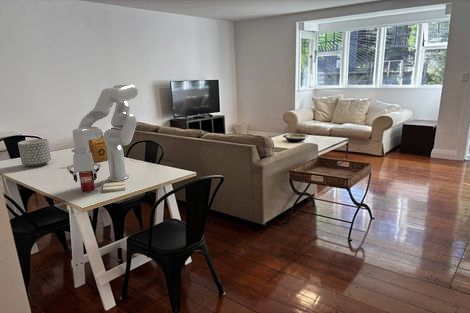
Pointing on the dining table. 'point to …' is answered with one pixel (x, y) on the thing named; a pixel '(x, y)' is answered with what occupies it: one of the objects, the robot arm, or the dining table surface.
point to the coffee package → (98, 149)
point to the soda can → (87, 181)
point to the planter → (34, 152)
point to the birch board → (114, 186)
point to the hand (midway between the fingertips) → (85, 180)
